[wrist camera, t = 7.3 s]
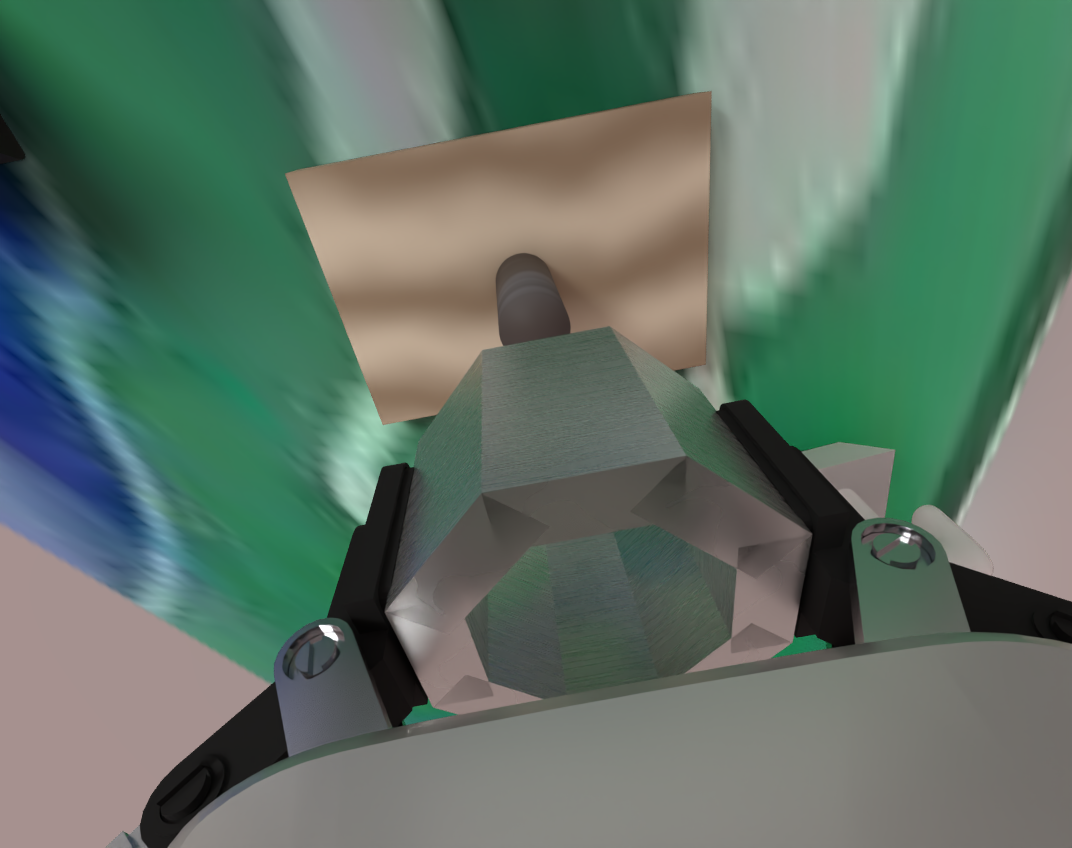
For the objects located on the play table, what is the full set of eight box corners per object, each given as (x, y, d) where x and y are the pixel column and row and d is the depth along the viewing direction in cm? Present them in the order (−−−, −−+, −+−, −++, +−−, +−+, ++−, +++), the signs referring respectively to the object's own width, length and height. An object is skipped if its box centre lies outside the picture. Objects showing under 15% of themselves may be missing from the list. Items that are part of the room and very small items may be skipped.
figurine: (866, 490, 40) (1043, 666, 27) (749, 520, 41) (869, 706, 28) (875, 416, 36) (1087, 581, 24) (746, 450, 37) (884, 628, 24)
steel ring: (392, 366, 11) (337, 520, 7) (700, 309, 11) (832, 428, 7) (466, 575, 15) (459, 757, 11) (697, 533, 15) (781, 700, 11)
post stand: (298, 169, 25) (216, 194, 17) (695, 92, 25) (790, 83, 17) (388, 408, 32) (358, 499, 25) (693, 351, 32) (759, 425, 24)
